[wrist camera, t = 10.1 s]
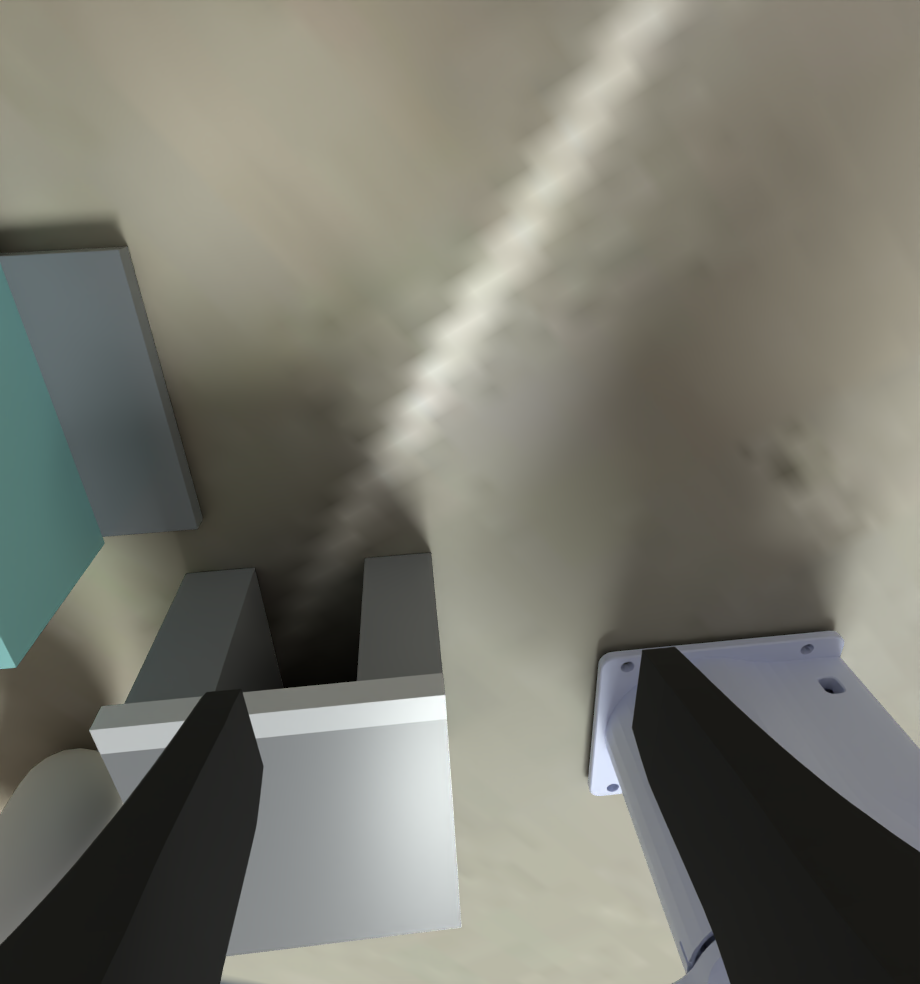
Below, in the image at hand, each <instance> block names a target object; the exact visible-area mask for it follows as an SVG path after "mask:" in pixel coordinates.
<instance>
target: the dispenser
mask: <svg viewBox="0 0 920 984" xmlns="http://www.w3.org/2000/svg"><path fill="white" fill-rule="evenodd" d="M233 689H242V692H243V696H244V699H245V703H246V706H247V710H248V713H249V717H250V720H251V724H252V727H253V731H254V734H255V738H256V741H257V745H258V748H259V752H260V755H261V759H262V762H263V766H264V768H263V777H262V786H261V795H260V803H259V811H258V818H257V826H256V830H255V835H254V839H253V844H252V848H251V852H250V857H249V861H248V865H247V870H246V874H245V878H244V882H243V887H242V891H241V895H240V899H239V903H238V907H237V912H236V916H235V920H234V924H233V928H232V933H231V937H230V941H229V945H228V949H227V954H226V956H233V955H241V954H249V953H257V952H265V951H274V950H282V949H290V948H298V947H306V946H314V945H322V944H331V943H339V942H347V941H355V940H363V939H371V938H380V937H388V936H396V935H404V934H412V933H420V932H428V931H437V930H445V929H453V928H461V913H460V899H459V885H458V870H457V856H456V842H455V828H454V814H453V799H452V785H451V771H450V757H449V742H448V728H447V714H446V700H445V688H444V678H443V673H442V662H441V652H440V641H439V631H438V620H437V610H436V599H435V588H434V578H433V567H432V557H431V553H421V554H409V555H397V556H386V557H374V558H365V564H364V580H363V595H362V611H361V626H360V642H359V657H358V672H357V681H355V682H344V683H334V684H324V685H313V686H303V687H293V688H284V687H283V683H282V679H281V675H280V671H279V667H278V663H277V658H276V654H275V650H274V646H273V642H272V638H271V633H270V629H269V625H268V621H267V617H266V613H265V609H264V604H263V600H262V596H261V592H260V588H259V584H258V580H257V575H256V571H255V568H245V569H233V570H222V571H210V572H198V573H187V574H186V575H185V577H184V579H183V581H182V583H181V585H180V587H179V590H178V592H177V594H176V596H175V598H174V600H173V602H172V604H171V606H170V609H169V611H168V613H167V615H166V617H165V619H164V621H163V623H162V625H161V628H160V630H159V632H158V634H157V636H156V638H155V640H154V642H153V644H152V647H151V649H150V651H149V653H148V655H147V657H146V659H145V661H144V663H143V666H142V668H141V670H140V672H139V674H138V676H137V678H136V680H135V682H134V684H133V687H132V689H131V691H130V693H129V695H128V697H127V699H126V701H125V703H124V704H118V705H108V706H101V708H100V710H99V712H98V714H97V716H96V718H95V720H94V722H93V724H92V726H91V728H90V730H89V731H90V733H91V735H92V738H93V740H94V742H95V744H96V746H97V748H98V750H99V752H100V755H101V757H102V759H103V761H104V763H105V765H106V767H107V770H108V772H109V774H110V776H111V778H112V780H113V782H114V785H115V787H116V789H117V791H118V793H119V795H120V797H121V799H122V802H123V804H124V803H125V801H126V800H127V799H128V798H129V796H130V795H131V794H132V792H133V791H134V790H135V788H136V787H137V786H138V784H139V783H140V782H141V780H142V779H143V778H144V776H145V775H146V774H147V772H148V771H149V770H150V769H151V767H152V766H153V765H154V763H155V762H156V760H157V759H158V758H159V756H160V755H161V754H162V752H163V751H164V749H165V748H166V747H167V745H168V744H169V742H170V741H171V740H172V738H173V737H174V735H175V734H176V733H177V731H178V730H179V728H180V727H181V726H182V724H183V723H184V721H185V720H186V718H187V717H188V716H189V714H190V713H191V711H192V710H193V708H194V707H195V706H196V704H197V703H198V701H199V700H200V698H201V697H202V696H203V695H204V694H205V693H206V692H212V691H223V690H233Z"/></svg>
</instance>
